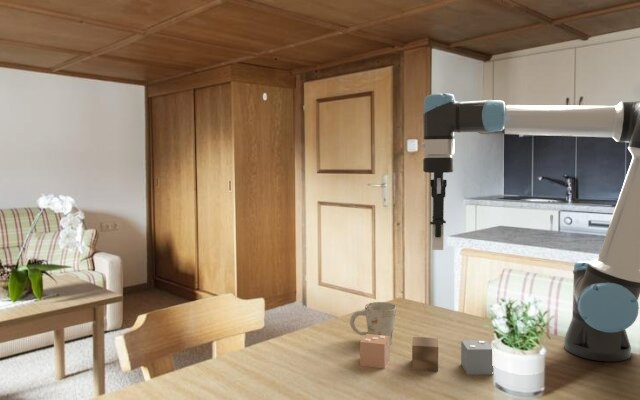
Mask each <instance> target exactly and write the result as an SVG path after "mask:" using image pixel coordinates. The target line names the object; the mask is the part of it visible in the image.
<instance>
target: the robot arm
mask: <svg viewBox="0 0 640 400" xmlns="http://www.w3.org/2000/svg"><path fill="white" fill-rule="evenodd" d="M422 115H423V119H422V120H423V143H421V144H420V147H421V148H423V156H426V157H424V158H423V159H422V160H423V162H422V164H423V172H424V173H427V174H428V173H429V174H430V173H431V174H432V173H433V178H432V179H430V185H429V186H430V187H431V189H430V191H431V192H430V195H431V197H432V221H430V223H429V224H430V225H432V242H431V243H432V245H431V246H432V247H431V248H432V249H431V250H433V251H444V226H445V225H444V224H446V223H447V220H445V219H444V213H445V211H444V205H445V203H444V202H445V198H446V188H447V185H448V184H447V182H448V181H447V179H444V173H454V170H455V159H454V157H453V156H454V155H455V133H478V134H480V135H491V134H494V135H525V136H526V135H530V136H531V135H532V136H554V137H555V136H556V137H557V136H559V137H560V136H561V137H589V138H591V137H595V138H612V139H613V140H614V141H615V142H617V143H618V142H619V143H628V146H627V149H628V151H629V153H630V154H631V157H632V158H631V161H630V163H629V164H630V165H629V167H628V170H627V173H626V175H625V178H624V181H623V183H622V184H623V185H622V186H621V187H622V188H621V191H620V193H619V196H618V200H617V202H616V205H615V207H614V208H615V209H613V210H614V211H613V213H612V217H611V219H610V221H609V222H610V223H609V225H608V228H607V231H606V235H605V237H604V240H603V243H602V245H601V249H600V251H599V253H598V257H597V258H595V259H593V260H579V261H576V262H575V263H574V266H573V271H572V274H573V291H572V317H571V321H570V323H569V324H568V327H567V331H566V333H565V335H564V338H563V339H564V340H563V341H564V342H563V343H564V344H563V345H564V346H563V347H564V349H565V350H566V351H568V352H569V353H570V354H572V355H575V356H576V357H580V358H584V359H587V360H593V361H600V362H622V361H626V360H628V359H631V356H632V353H631V351H632V347H631V343H630V340H629V336H628V334H627V331H626V330H627V329H628V328H629V327H631V326H632V325H633V324H634V323H635V321H636V320H637V318H638V316H639V315H638V314H639V309H640V307H639V301H638V300H639V297H640V100H638V101H620V102H619V103H618V104H617V105H538V104H537V105H533V104H532V105H527V104H526V105H525V104H523V105H522V104H521V105H520V104H514V105H513V104H507V105H506V103H505V101H503V100H501V99H499V100H497V99H495V100H494V99H487V100H472V101H471V100H470V101H456V99H455V95H454V94H452V93H433V94H428V95H427V96H425V98H424V103H423V113H422Z"/></svg>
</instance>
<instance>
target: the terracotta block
mask: <svg viewBox="0 0 640 400" xmlns="http://www.w3.org/2000/svg"><path fill="white" fill-rule="evenodd" d="M390 360H391V344H390V336H384V335H374V334H366V335H363V337H362V338H361V340H360V342H359V364H360V365H359V366H362V367H368V368H369V367H370V368H378V369H386V367H387V365H388V363H389V362H390Z"/></svg>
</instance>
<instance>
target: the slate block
mask: <svg viewBox="0 0 640 400" xmlns="http://www.w3.org/2000/svg"><path fill="white" fill-rule="evenodd" d="M460 342H461V344H460V345H461V348H460V349H461V350H460V364H461V367H462V368H463V370H464V372H465V374H466V375H493V374H492V372H493V373H494V368H493V366H492V348H493V347H492V345H491V344H490V343H489V341H488V340H485V339H482V340H481V339H478V340H477V339H474V340H473V339H470V340H468V339H467V340H466V339H465V340H463V339H462V340H461V341H460ZM491 347H492V348H491Z"/></svg>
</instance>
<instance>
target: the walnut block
mask: <svg viewBox="0 0 640 400" xmlns="http://www.w3.org/2000/svg"><path fill="white" fill-rule="evenodd" d="M438 339H439V338H438V337H421V336H413V337H412V343H411V370H412V371H424V372H425V371H426V372H437V373H438V372H439V340H438Z"/></svg>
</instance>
